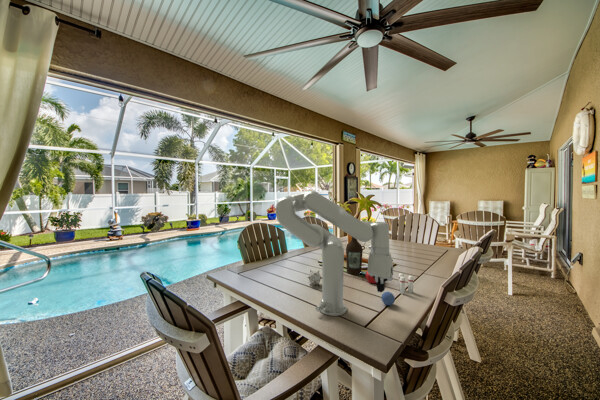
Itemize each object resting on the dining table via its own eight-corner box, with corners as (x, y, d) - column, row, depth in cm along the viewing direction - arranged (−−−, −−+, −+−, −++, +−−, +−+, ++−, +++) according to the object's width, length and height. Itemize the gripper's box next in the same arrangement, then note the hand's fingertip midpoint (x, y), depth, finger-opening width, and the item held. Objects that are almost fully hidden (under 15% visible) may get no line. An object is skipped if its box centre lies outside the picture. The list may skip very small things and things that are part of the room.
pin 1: (402, 290, 128) (402, 275, 127) (397, 289, 129) (398, 274, 129) (404, 289, 129) (404, 274, 129) (399, 288, 131) (400, 272, 131)
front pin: (403, 294, 123) (404, 278, 122) (398, 293, 124) (399, 277, 124) (405, 293, 124) (406, 277, 124) (400, 291, 126) (401, 276, 126)
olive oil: (345, 269, 162) (346, 232, 161) (361, 270, 160) (362, 233, 158) (345, 274, 151) (346, 235, 150) (362, 275, 149) (363, 236, 148)
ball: (391, 309, 108) (391, 296, 108) (378, 304, 112) (379, 292, 112) (396, 304, 112) (397, 292, 112) (384, 300, 117) (384, 288, 116)
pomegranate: (384, 286, 134) (384, 270, 134) (365, 284, 136) (366, 268, 136) (381, 279, 144) (382, 264, 143) (364, 277, 146) (365, 263, 145)
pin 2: (412, 293, 124) (412, 277, 124) (407, 292, 126) (407, 276, 125) (413, 292, 126) (414, 276, 125) (408, 290, 128) (409, 275, 127)
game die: (316, 292, 134) (316, 282, 128) (304, 284, 138) (304, 274, 132) (324, 280, 139) (325, 271, 133) (313, 273, 143) (313, 263, 137)
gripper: (360, 249, 107) (361, 289, 108) (393, 255, 96) (393, 299, 97) (368, 246, 112) (369, 284, 113) (400, 251, 102) (401, 293, 103)
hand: (380, 291), depth 105 cm, fingers closed
